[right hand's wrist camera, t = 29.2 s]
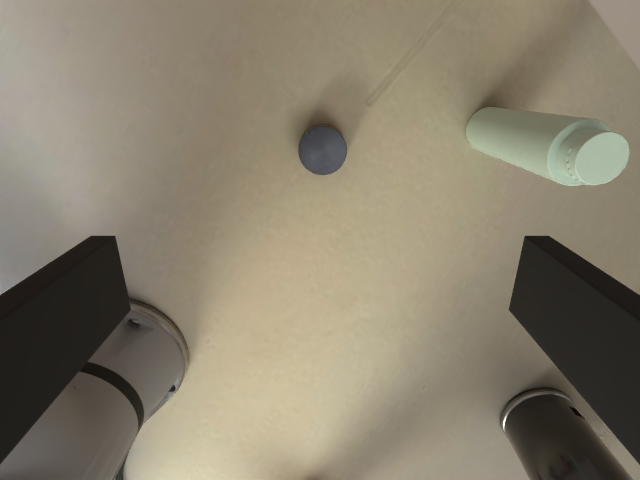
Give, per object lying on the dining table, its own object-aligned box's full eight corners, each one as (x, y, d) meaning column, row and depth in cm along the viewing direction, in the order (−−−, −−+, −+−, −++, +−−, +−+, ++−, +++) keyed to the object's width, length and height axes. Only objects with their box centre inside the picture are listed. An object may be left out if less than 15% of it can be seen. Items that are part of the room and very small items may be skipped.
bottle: (459, 146, 37) (553, 187, 22) (473, 103, 36) (584, 115, 21) (499, 154, 38) (619, 199, 23) (514, 111, 36) (653, 129, 21)
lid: (354, 144, 37) (356, 148, 35) (325, 179, 38) (325, 184, 37) (319, 114, 36) (319, 115, 34) (290, 150, 37) (288, 154, 35)
